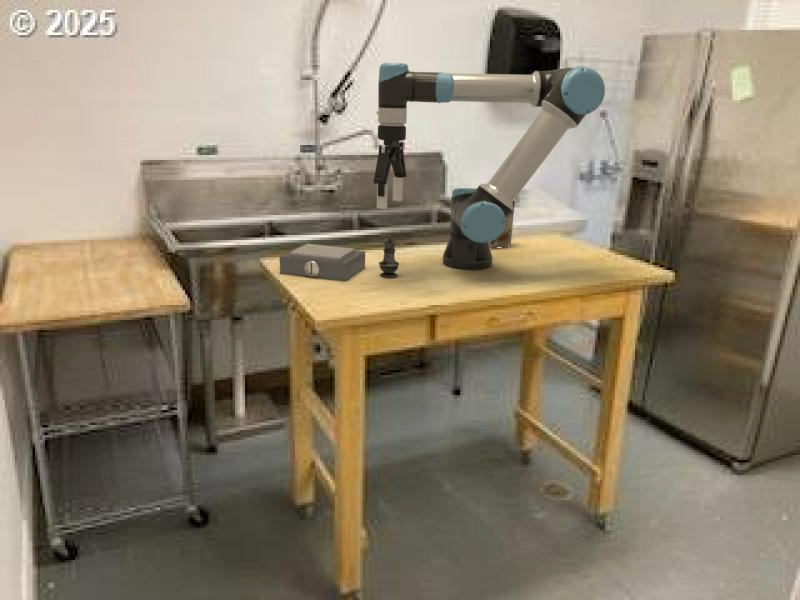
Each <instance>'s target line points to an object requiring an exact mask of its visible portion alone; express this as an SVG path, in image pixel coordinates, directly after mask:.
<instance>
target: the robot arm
mask: <svg viewBox="0 0 800 600" xmlns="http://www.w3.org/2000/svg"><path fill="white" fill-rule="evenodd" d="M378 71H379V72H378V92H377V93H378V95H377V96H378V97H377V98H378V102H377V103H378V109H377V111H376V114H377V118H378V120H377V123H378V124H379V125H378V126H377V139H378V140H379V141H383V144H379V145H378V153H377V160H376V166H375V172H374V177H373V184H374V185H375V184H376V209H382V210H387V209H388V192H389V189H388V188H389V186H388V185H389V184H388V183H387V181H388V179H389V175H390V171H391V168H392V171H393V174H394V176H393V177H392V201H395V202H403V199H404V198H403V195H404V178H407V170H406V162H405V161H406V160H405V153H404V141H406V139H407V127H406V126H405V124H407V117H408V113H407V111H408V109H407V108H408V107H407V105H408V104H407V103H408V102H411V103H436V104H441V103H442V104H443V103H450V102H467V103H469V102H471V103H473V102H476V103H517V104H518V103H521V104H522V103H523V104H530V106H532V107H535V108H537V107H540V108H542V110H541V111H540V113H539V114H538V115H537V117H536V118H535V120H533V122H532V124H530V126H529V127H528V129H527V130H526V131H525V133H524V134H523V135H522V137H521V138H520V139H519V141H518V142H517V143H516V145H515V146H514V148H513V149H512V150H511V152H510V153H509V154H508V156H507V157H506V158H505V160H504V161H503V162H502V163H501V165H500V166H499V168H498V169H497V170H496V172H495V173H494V174H493V175H492V177H491V178H490V179H489V181H488V182H487V183H480V184H479V185H478V186H477V188H476V187H475V188H474V187H471V188H470V187H469V188H468V187H465V188H463V187H461V188H459V187H456V188H454V189H453V190H452V192H451V197H450V201H451V202H450V203H451V204H450V222H449V223H450V225H449V238H448V241H447V243H446V246H445V249H444V252H443V254H442V263H443V265H445V266H447V267H450V268H453V269H459V270H475V271H476V270H482V269H483V270H485V269H488V268H491V267H492V265H493V261H494V260H493V259H494V258H493V253H492V249H490V245H489V242H491V241H493V240H495V239H497V238H498V237H499V236H500V235H501V234H502V232H503V230H504V228H505V222H506V219H507V218H508V216H509V215H510V214H511V212H512V211H513V201H515V199H516V198H517V197H518V196H519V194H520V193H521V192H522V190H523V188H524V187H526V185H527V184H528V182H529V181H530V179H531V178H532V177H533V176H534V174H535V173H536V172H537V170H538V169H539V168H540V167H541V165H542V164H543V163H544V161H545V160H546V159H547V158H548V156H549V155H550V153H551V152H552V151H553V150H554V148H555V147H556V145H557V144H558V143H559V141H560V140H561V139H562V138H563V136H564V135H565V134H566V132H567V131H568V130H570V129H575V128H576V129H577V127H578V126H579V125H580V124H581V122H582V121H583V119H584V118H585V117H586V115H589V114H591V113H593V112H594V111H596V110H597V109H598V108H599V107H601V104H602V103H603V100H604V97H605V94H606V93H605V92H606V89H605V87H606V86H605V82H604V79H603V77H602V75H600V73H599V72H598V71H596V70H595V69H593V68H591V67H588V66H584V65H581V66H580V65H579V66H576V67H563V68H558V69H553V70H544V71H542V70H541V71H540V70H535V71H534V72H533V73H531V74H510V73H509V74H505V73H504V74H502V73H501V74H500V73H460V72H459V73H458V72H457V73H452V72H443V71H442V72H441V71H440V72H438V71H437V72H433V71H431V72H430V71H427V72H426V71H412V70H411V71H410V69H409V65H408V63H400V62H382V63H381V64H380V65H379V69H378Z"/></svg>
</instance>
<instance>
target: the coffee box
mask: <svg viewBox="0 0 800 600" xmlns="http://www.w3.org/2000/svg"><path fill="white" fill-rule="evenodd" d="M515 203H516V200H514V201H513V211H512V212H511V214H510V215H509V216H508V218H507V219H506V222H505V228H504V230H503V232H502V234H501V235H500V236H499V237H498V238H497V239H495V240H493V241H491V242H489V245H490V248H497V247H508V246H509V247H510V246H511V247H512V237H513V236H512V235H513V227H514V226H513V225H514V215H515V214H514V213H515ZM511 247H510V248H511Z"/></svg>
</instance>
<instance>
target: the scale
mask: <svg viewBox="0 0 800 600" xmlns="http://www.w3.org/2000/svg"><path fill="white" fill-rule="evenodd" d="M364 269H366V250H358V249H357V250H356V249H355V248H351V247H345V246H344V247H343V246H342V247H341V246H332V245H331V246H330V245H324V244H315V243H312V244H311V243H306V244H302V245H299V246H297V247H296V248H294V249H293V248H292V250H289V251H287V252H285V253H283V254H281V255H279V274H282V275H290V276H291V275H292V276H297V277H298V276H300V277H306V276H308V278H314V277H317V278H316V279H323V278H324V279H325V280H331V281H332V280H333V281H341V282H347V281H349V280H350V279H352V278H353V277H354V276H356V275H358V274H359V273H360V272H361V271H363V270H364ZM324 279H323V280H324Z"/></svg>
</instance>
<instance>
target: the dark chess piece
mask: <svg viewBox="0 0 800 600" xmlns="http://www.w3.org/2000/svg"><path fill="white" fill-rule="evenodd" d="M395 241H396V240H395V238H394V237H391V233H389V234H388V236H387V237H386V238H385V239H384V249H383V250H382V252H383V260H382V261H379V262H378V265H379V269H380V270H381V271H382V272H380V274H379V277H380V278H384V279H395V278H398V277H399V274H398V273H396V272H397V271H398V269H399V266H400V262H398V261H397V260H396V258H395V252H396V251H397V250H396V249H395Z"/></svg>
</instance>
